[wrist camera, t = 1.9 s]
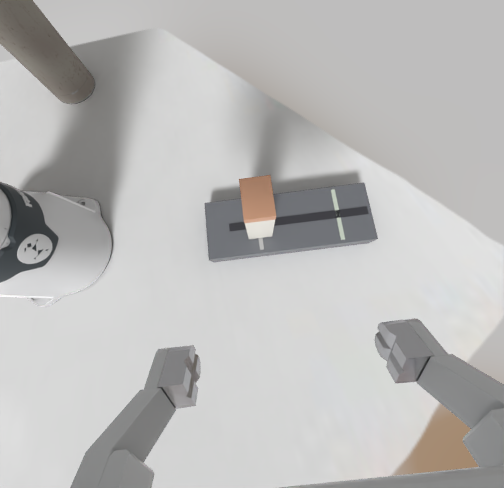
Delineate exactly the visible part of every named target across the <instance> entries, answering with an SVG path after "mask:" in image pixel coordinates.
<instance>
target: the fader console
mask: <svg viewBox="0 0 504 488" xmlns="http://www.w3.org/2000/svg"><path fill="white" fill-rule="evenodd" d="M273 197H274V204H275V210H276V219H275V224H274V229H273V235H272V237H264V238H256V239H249V238H248V234H247V230H246V226H245V223H244V218H243V210H242V201H241V199H233V200H225V201H217V202H210V203H205V215H206V228H207V241H208V253H209V260H210V261H212V262H219V261H227V260H235V259H243V258H252V257H260V256H268V255H276V254H284V253H292V252H300V251H308V250H316V249H325V248H333V247H341V246H349V245H357V244H365V243H370V242H372V241H374V240H376V239H378V238H377V233H376V229H375V225H374V221H373V217H372V213H371V209H370V204H369V200H368V196H367V192H366V188H365V184H364V183H357V184H350V185H342V186H334V187H326V188H318V189H311V190H303V191H295V192H287V193H280V194H273Z"/></svg>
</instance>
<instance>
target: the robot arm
mask: <svg viewBox="0 0 504 488" xmlns="http://www.w3.org/2000/svg"><path fill="white" fill-rule="evenodd" d="M84 204H85V205H84ZM111 249H112V239H111V234H110V231H109V229H108V227H107V225H106V223H105V222H104V220H103V219H102V217H101V211H100V205H99V203H98V201H96V200H94V199H91V198H83V197H73V196H64V195H57V194H55V193H52V192H49V191H47V192H46V193H43V192H33V191H20V190H19V189H16V188H15V187H13V186H10V185H8V184H4V183H2V182H0V296H1V297H25V298H27V299H28V300H30V301H31V302H33V303H34V304H35V305H37V306H41V307H47V306H50V305H52V304H53V303H55V302H56V301H57V300H59V299H60V298H61V297H63V296H66V295H69V294H73V293H76V292H79V291H81V290H83V289H85V288H87V287H88V286H90V285H91V284H92V283H93V282H94V281H96V280H97V279H98V277H99V276H100V275H101V274H102V272H103V271H104V269H105V268H106V266H107V264H108V261H109V258H110V255H111ZM378 330H379V332H378V333H377V334H376V335H375V345H376V348H377V351H378V353H379V355H380V356H381V357H382V358H383V359H385V360H386V361H387V366H386V367H387V369H388V371H389V373H390V374H391V376H392V378H393V380H394V382H395V383H406V382H417V383H418V384H419V385H420V386H421V387H422V388H423V389H425V390H426V391H427V392H428V393H429V394H431V395H432V396H433V397H434V398H435V399H437V400H438V401H439V402H440V403H441V404H442V405H444V406H445V407H446V408H447V409H448V410H450V411H451V412H452V413H453V414H454V415H455V416H457V417H458V418H459V419H460V420H461V421H463V422H464V423H465V424H466V425H467V426H468V427H470V428H471V430H470V431H469V432H468V433H467V434H466V435H465V436H464V438H463V442H464V444H465V446H466V447H467V449H468V450H469V452H470V453H471V455H472V457H473V458H474V460H475V461H476V463H477V464H478V466H479V467H476V468H466V469H456V470H446V471H436V472H427V473H418V474H408V475H398V476H388V477H378V478H368V479H358V480H349V481H339V482H329V483H319V484H310V485H300V486H290V487H281V488H504V384H502V383H500V382H498V381H497V380H495V379H493V378H492V377H490V376H488V375H487V374H485V373H483V372H481V371H480V370H478V369H476V368H475V367H473V366H471V365H470V364H468V363H466V362H465V361H463V360H461V359H460V358H458V357H456V356H454V355H453V354H449V355H448V353H447V352H446V351H445V350H444V349H443V347H442V346H441V345H440V344H439V343H438V341H437V340H436V339H435V338H434V337H433V335H432V334H431V333H430V332H429V331H428V329H427V328H426V327H425V326H424V325H423V323H422V322H421V321H420V320H418V319H415V318H414V319H407V320H397V321H389V322H382V323H380V324H379V325H378ZM195 350H196V349H195V347H194V345H191V346H182V347H173V348H163V349H158V351H157V352H156V354H155V357H154V360H153V363H152V366H151V369H150V372H149V375H148V378H147V381H146V384H145V387H144V390H140V391H139V392H138V393H137V394H136V396H135V397H134V398H133V399H132V400H131V401H130V402H129V404H128V405H127V406H126V407H125V408H124V409H123V410H122V412H121V413H120V414H119V415H118V416H117V417H116V418H115V420H114V421H113V422H112V423H111V424H110V425H109V426H108V428H107V429H106V430H105V431H104V432H103V433H102V434H101V436H100V437H99V438H98V439H97V440H96V441H95V442H94V444H93V445H92V446H91V447H90V448H89V449H88V450H87V452H86V453H85V455H84V458H83V460H82V462H81V465H80V467H79V469H78V471H77V474H76V476H75V478H74V481H73V483H72V485H71V487H70V488H151V487H152V482H153V478H154V473H153V470H152V469H150V468H149V467H148V466H147V465H145V464H144V463H143V462H144V461H145V459H146V457H147V456H148V454H149V453H150V451H151V449H152V448H153V446H154V445H155V443H156V441H157V440H158V438H159V436H160V435H161V433H162V432H163V430H164V428H165V427H166V425H167V424H168V422H169V420H170V419H171V417H172V415H173V414H174V412H175V411H176V409H177V408H184V407H191V406H196V399H197V392H198V387H197V385H196V382H197V380H198V379H199V378H200V359H199V356H198V355H197V354H195Z"/></svg>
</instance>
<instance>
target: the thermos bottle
mask: <svg viewBox="0 0 504 488" xmlns="http://www.w3.org/2000/svg"><path fill="white" fill-rule="evenodd" d="M0 44H1V45H2V46H3V47H5V49H6V50H7V51H9V52H10V53H11V54H12V55H13V56H14V57H15V58H16V59H17V60H18V61H19V62H20V63H21V64H22V65H23V66H24V67H25V68H26V69H28V70H29V71H30V72H31V73H32V74H33V75H34V76H35V77H36V78H37V79H38V80H39V81H40V82H41V83H42V84H43V85H44V86H46V87H47V88H48V89H49V90H50V91H51V92H52V93H53V94H54V95H55V96H56V97H57V98H58V99H59V100H60V101H62V102H64V103H67V104H76V103H79V102H82V101H84V100H85V99H87V98H88V97H89V96H90V95H91V93H92V92H93V90H94V86H95V81H94V78H93V77H92V75H91V74H90V73H89V71H88V70H87V69H86V67H85V66H84V65H83V64H82V62H81V61H80V60H79V59H78V57H77V56H76V55H75V54H74V52H73V51H72V50H71V49H70V47H69V46H68V45H67V44H66V42H65V41H64V40H63V38H62V37H61V36H60V35H59V33H58V32H57V31H56V30H55V28H54V27H53V26H52V25H51V23H50V22H49V21H48V19H47V18H46V17H45V16H44V14H43V13H42V12H41V10H40V9H39V8H38V7H37V5H36V4H35V3H34V2H33V0H0Z"/></svg>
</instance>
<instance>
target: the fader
mask: <svg viewBox="0 0 504 488" xmlns="http://www.w3.org/2000/svg"><path fill="white" fill-rule="evenodd" d="M239 183H240V192H241V201H242V210H243V218H244V223H245V226H246V230H247V234H248V238H249V239H256V238H264V237H272V235H273V229H274V224H275V219H276V210H275V204H274V197H273V190H272V183H271V176H270V175H267V176H259V177H251V178H244V179H239Z"/></svg>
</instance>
